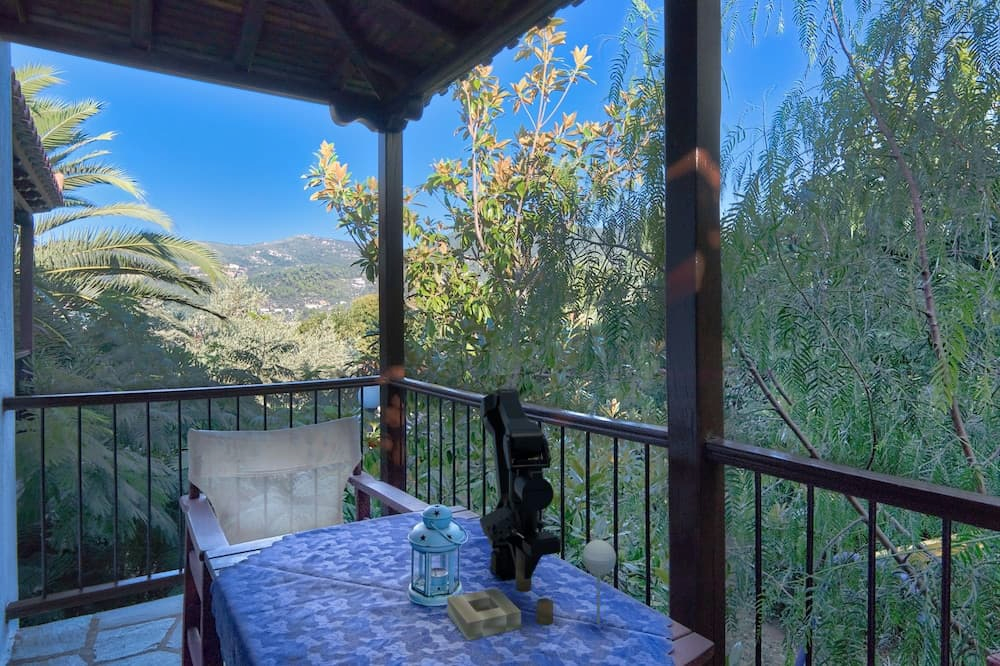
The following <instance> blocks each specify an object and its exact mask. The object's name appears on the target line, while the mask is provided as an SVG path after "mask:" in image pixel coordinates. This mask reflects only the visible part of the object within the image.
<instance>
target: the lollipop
mask: <svg viewBox="0 0 1000 666" xmlns="http://www.w3.org/2000/svg"><path fill="white" fill-rule="evenodd" d="M581 559H582V563H583V565H584V567H585V569H586V570H587V571H588V572H589V573H591V574H593V575H596V576H597V579H596V580H597V589H596V592H597V593H596V596H597V598H596V601H597V602H596V604H597V605H596V611H597V612H596V625H597V626H600V624H601V623H600V622H601V621H600V619H601V618H600V617H601V615H600V614H601V613H600V612H601V611H600V610H601V576H605V575H608V574H609V573H611V572H612V570H613V569H614V567H615V566H616V562H617V554H616V551H615V550H614V547H613V546H612V545H611V544H610V543H608V542H607V541H605V540H603V539H594V540H592V541H590V542H588V543H586V545H585V547H584V548H583V551H582V554H581Z"/></svg>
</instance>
